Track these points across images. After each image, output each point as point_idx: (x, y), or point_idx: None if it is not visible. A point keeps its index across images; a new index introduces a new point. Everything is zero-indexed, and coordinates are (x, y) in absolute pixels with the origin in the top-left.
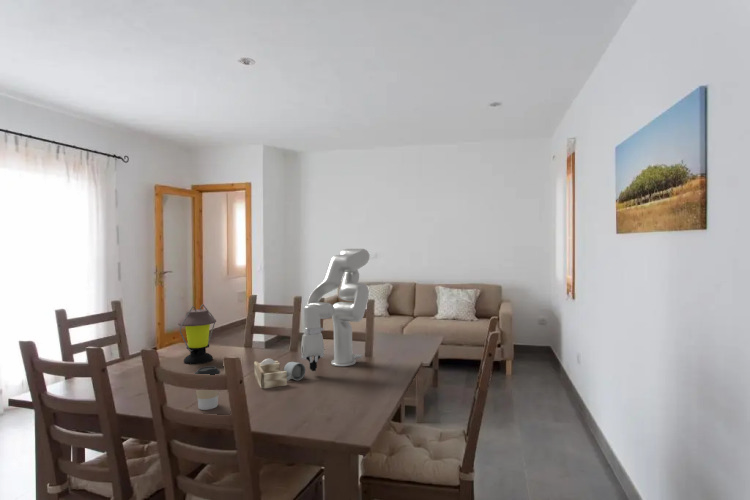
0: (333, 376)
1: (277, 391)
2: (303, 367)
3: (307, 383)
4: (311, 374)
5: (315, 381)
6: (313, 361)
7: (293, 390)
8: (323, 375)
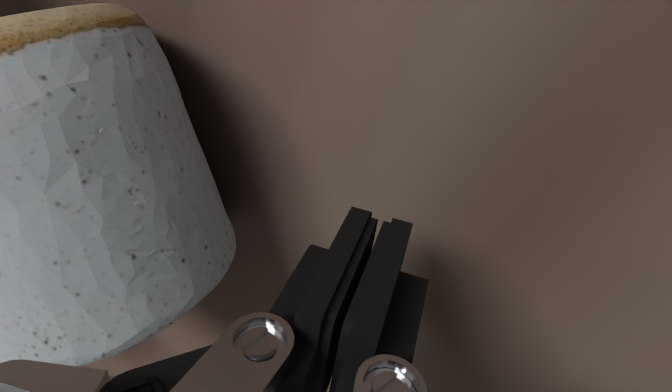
0: (593, 388)
1: None
2: (169, 286)
3: None
4: (407, 125)
5: None
6: (341, 376)
7: (122, 372)
8: (521, 279)
